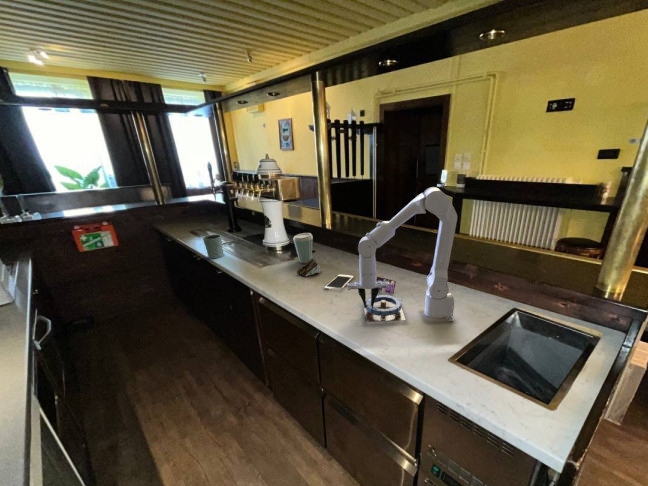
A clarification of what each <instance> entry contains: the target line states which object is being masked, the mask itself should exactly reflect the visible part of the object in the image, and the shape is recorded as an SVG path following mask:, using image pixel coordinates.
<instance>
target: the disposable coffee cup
mask: <svg viewBox="0 0 648 486" xmlns="http://www.w3.org/2000/svg"><path fill="white" fill-rule="evenodd" d="M313 238H314V237H313V234H312V233H311V232H303V233H298V234H296V235H294V237H293V243H294V247H295V250H296V254H297V257H298V261H299V262H300V263H301V264H305V263H307V262H308V261H309V260H310V259H312V258H313V240H314V239H313Z"/></svg>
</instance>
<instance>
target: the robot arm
mask: <svg viewBox="0 0 648 486" xmlns="http://www.w3.org/2000/svg"><path fill="white" fill-rule="evenodd" d="M426 210H427V211H428V212H430V214H433V215H435V216H436V217H437V218H438V219H439V224H438V225H439V226H438V231H437V238H436V243H435V249H434V257H433V262H432V266H431V268H430V271H429V274H428V275H427V276H426V284H427V287H428V288H427V289H426V291H425V299H424V312H423V313H424V315H425V316H426V317H429V318H431V319H442V318H446V319H447V321H448V322H453V321H454V319H453V318H454V309H455V297H454V295H453V294H452V293H451V292H450V288H449V285H448V281H449V273H448V272H449V271H448V269H449V264H450V259H451V254H452V248H453V244H454V239H455V233H456V228H457V223H458V214H457V212H456V209H455V207H454V204H453V203H452V201H451V199H450V198H449V196H447V194H445V192H443V191H442V190H441V189H440V188H438V187H436V186H431V187H428V188H426V189H425V190H424V192H421V193H420V194H418V195H416V196H415V198H413V199H412V200H411V201H410V202H409V203H408V204H406V205H405V206H404V207H403V208H402V209H401V210H400V211H399V212H397V214H396V215H394V216H393V217H392V218H391V219H390V220H384V221H383V220H382V221H381V222H377V223H376V227H375V228H374V229H372V230H371V231H370V232H366V234H365V236H363V237H362V238H361V239H359V243H358V246H357V252H358V254H359V255H358V256H359V259H358V264H359V265H358V266H359V281H354V282H348V283H347V285H346V287H347V291H351V290H357V293H358V295H359V297H360V298H361V301H362V303H363V309H364V308H366V301H367V298H366V295H367V294H366V290H370V295H371V296H370V297H371V305H372V306H373V305H374V301H375V299H376V296H378V295H379V291H380V290H378V288H382V289H385V288H386V289H389V284H390V283H389V282H388V281H389V280H388V281H385V280H384V281H376V280H377V258H376V252H377V249H379V248H381V247H382V246H384V245H385V243H387V242H388V241H390V239H392V238H393V237H394V236H395V234H396V229H398V228H399V227H400V226H402V225H403V224H405V223H406V222H407V221H408V220H411V218H412V217H414V216H415V215H419V214H420V215H421V214H426V213H427V212H426Z"/></svg>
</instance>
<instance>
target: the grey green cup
mask: <svg viewBox="0 0 648 486" xmlns="http://www.w3.org/2000/svg"><path fill="white" fill-rule="evenodd" d="M202 240H203V244H204V246H205V250H206V253H207V257H208V258H209V259H218V258H222V257H223V256H224V249H223V240H222V235H221V234H208V235H205V236H203V237H202Z"/></svg>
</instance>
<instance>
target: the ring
mask: <svg viewBox="0 0 648 486" xmlns="http://www.w3.org/2000/svg"><path fill="white" fill-rule="evenodd" d="M381 300H386V302H392V303H393V304H395V306H394V307H392V308H389V309H379V308H375V307H373V306H372V305H371V296H370V297H368V299H366V310H367V311H368V312H370V313H371V314H374V315H378V316H380V315H381V316H389V315H393V314H396V313H397V312H399V311H400V310H401V307H402V301H401V299H400V298H398V297H396V296H393V295H390V294H378V295H377V296H376V299H375V301H374V303H376V302H381Z"/></svg>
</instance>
